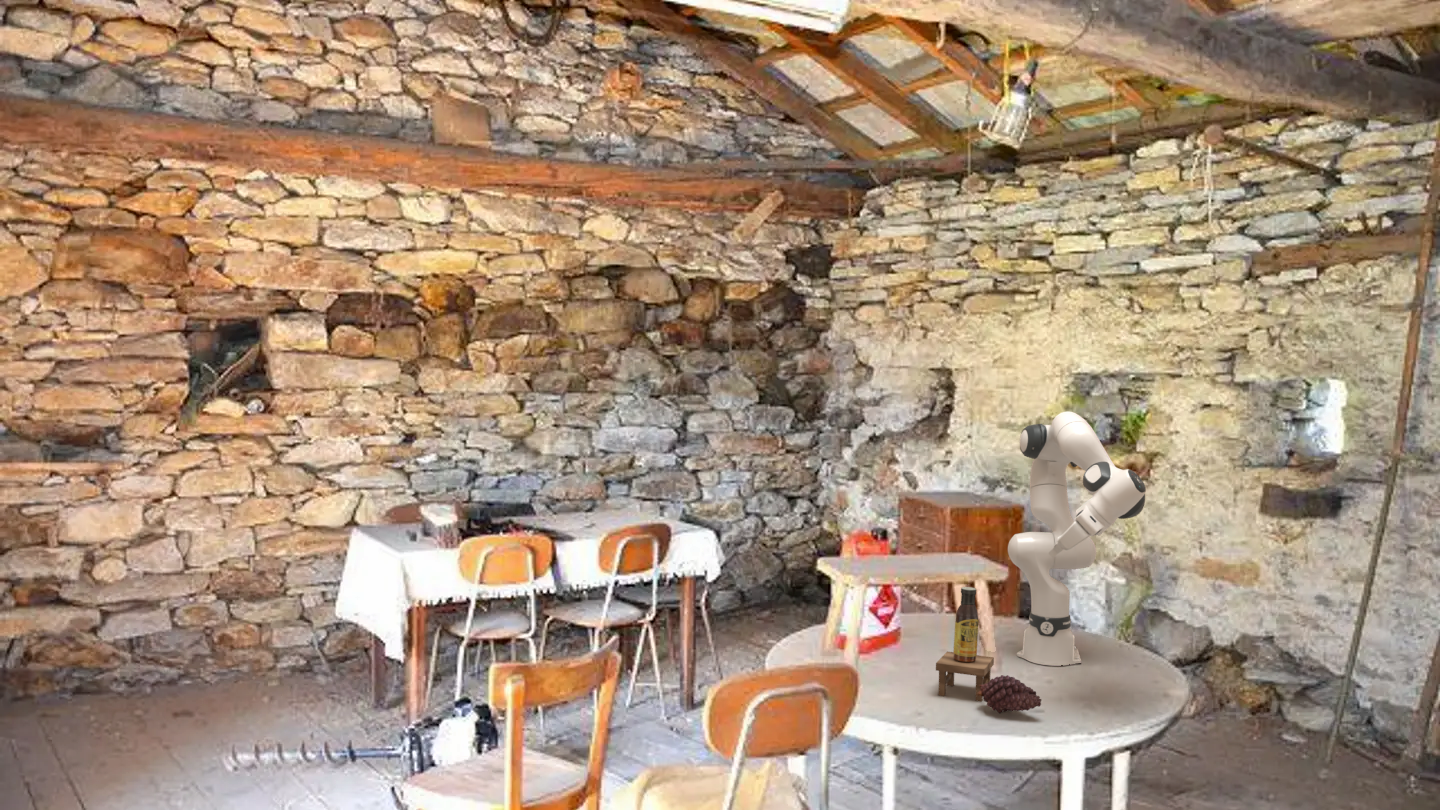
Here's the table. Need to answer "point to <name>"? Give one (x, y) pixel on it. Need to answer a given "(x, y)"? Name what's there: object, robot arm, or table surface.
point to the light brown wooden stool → (963, 671)
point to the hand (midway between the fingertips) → (1053, 552)
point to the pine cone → (1008, 695)
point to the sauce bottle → (966, 627)
